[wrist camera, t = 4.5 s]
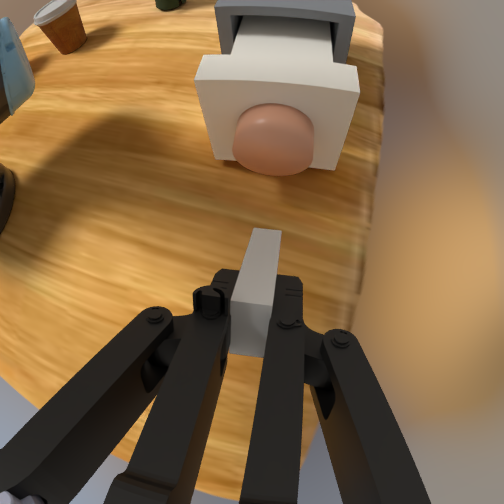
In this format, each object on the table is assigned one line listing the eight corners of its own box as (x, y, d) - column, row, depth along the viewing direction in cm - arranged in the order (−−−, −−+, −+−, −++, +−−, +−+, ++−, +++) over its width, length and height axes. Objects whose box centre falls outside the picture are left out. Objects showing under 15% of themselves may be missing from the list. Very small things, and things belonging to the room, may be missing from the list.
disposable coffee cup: (74, 33, 48) (55, -5, 37) (102, 30, 47) (83, -12, 35) (47, 60, 46) (23, 23, 34) (73, 59, 44) (48, 16, 33)
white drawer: (334, 194, 31) (363, 120, 20) (210, 182, 33) (184, 106, 21) (331, 67, 37) (343, -2, 26) (239, 59, 38) (232, -10, 27)
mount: (335, 105, 36) (355, 16, 23) (228, 96, 38) (214, 6, 24) (331, 40, 41) (341, -32, 27) (245, 33, 42) (239, -39, 28)
